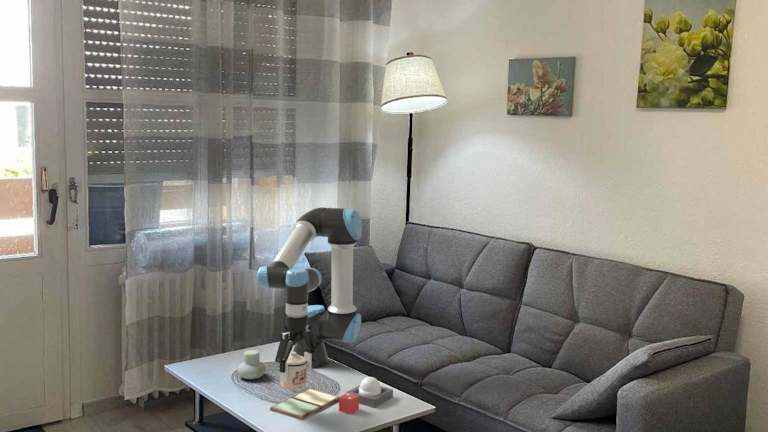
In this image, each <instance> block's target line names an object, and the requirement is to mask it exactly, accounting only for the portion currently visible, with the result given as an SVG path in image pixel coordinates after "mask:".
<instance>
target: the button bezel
mask: <svg viewBox="0 0 768 432" xmlns="http://www.w3.org/2000/svg"><path fill="white" fill-rule="evenodd" d="M359 387H360V384H358V385H357V386H355V387H354V388H353V387H352V389H350V390H348V391H346V393H351V394H354V395H358V396H359V405H363V406H366V407H369V408H372V409H373V408H374V409H375V408H377V407H378V406H381V405H382V404H384V403H386V402H388V401H389V400H391V399H392V398H393V397H394V389H393V388H390V387H385V386H381V385H380V387H381V394H379V395H377V396H375V397H374V398H373V397H370V396H366V395H362V394H359ZM346 393H345V394H346Z"/></svg>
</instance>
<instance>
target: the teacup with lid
mask: <svg viewBox="0 0 768 432" xmlns="http://www.w3.org/2000/svg"><path fill="white" fill-rule="evenodd" d="M283 360H284V359H283ZM286 363H288V382H284V381H280V386H281V388H283V389H287V390H299V389H302V388H304V387H305V386H306V385H307V373H308V371H307V370H308V362H307V360H306V358H305V357H303V356H299V355H297V353H296V352H293V351H291V352H290V355H289V357H288V360H287V362H286Z"/></svg>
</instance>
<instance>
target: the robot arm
mask: <svg viewBox="0 0 768 432" xmlns="http://www.w3.org/2000/svg"><path fill="white" fill-rule="evenodd" d="M362 233H363V222H362V217H361V215H360V213H359V211H358V210H356V209H350V208H342V207H340V208H339V207H338V208H337V207H323V206H322V207H317V208H313V209H310V210H309V211H307V212H305V213H304V214H302V216H300V217H299V218H298V219H297V220H296V222H295V223H294V225H293V226H292V233H291V234H290V235H289V237H288V238H287V240H286V241H285V243H284V244H283V246H282V247H281V249H280V250H279V252H278V253H277V254H276V256H275V258H274V259H273V260H272V262H271V263H270V265H269V266H267V265H264V266H260V267H259V268H258V270H257V273H256V281H257V284H258V286H259V287H260V288H267V289H276V290H285V314H286V315H285V326H286V328H287V331H286V332H281V333H280V340H279V344H278V347H277V352H276V355H275V359H274V361H275V362H276V363H278V364H279V372H280V374H279V376H280V377H279V380H280V382H281V381H284V382H288V363H286V362H287V360H288V357H289V355H291V352H296V353H297V355H299V356H303V357H305V358H306V360H307V362H308V370H307V373H309V372H310V373H311V372H312V369H313V368H314V369H315V368H321V367H323V366H325V365H327V364H328V363H329V355H328V353H327V349H326V346H325V340H326V341H336V342H342V343H352V342H354V341H355V340H356V339H357V338H358V335H359V333H360V330H361V326H362V315H361V314H360V313H357V307H356V306H355V305H354V304H353V303H354V299H353V297H354V295H353V293H354V292H353V291H354V288H353V287H354V247H355V245H357V243H358V240H360V239H361V237H362ZM318 237H323V238H327V244H329V246H330V247H331V295H330V296H331V301H330V302H331V303H330V305H329V306H328V307H327V310H326V308H325V306H324V305H322V304H321V305H320V304H314V305H311V304H310V305H309V293H310V292H312V291H314V290H316V289H318V287H319V286H320V285H321V283H322V281H323V280H322V279H323V278H322V277H323V276H322V274H321V272H320V271H319V270H318V269H316V268H314V267H310V268H309V267H307V268H305V269H304V268H294V267H296V264H297V263H298V261H299V259H300V258H301V256H302V255H303V252H304V251H305V250H306V248H307V247H308V245H309V243H310V242H312V241H314V240H315V239H316V238H318ZM283 359H284V360H283Z"/></svg>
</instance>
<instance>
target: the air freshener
mask: <svg viewBox="0 0 768 432" xmlns="http://www.w3.org/2000/svg"><path fill="white" fill-rule="evenodd" d="M266 369H267V367H266V365H265V363H263V362H262V361H260V352H259V351H258V350H255V349H249V350H245V351H244V352H243V362H241V363H239V365H238V368H237V369H236V370H237V374H238V376H239V377H241V378H243V379H246V380H258V379H260V378H261V377H263V376H264V374H265V373H266Z"/></svg>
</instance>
